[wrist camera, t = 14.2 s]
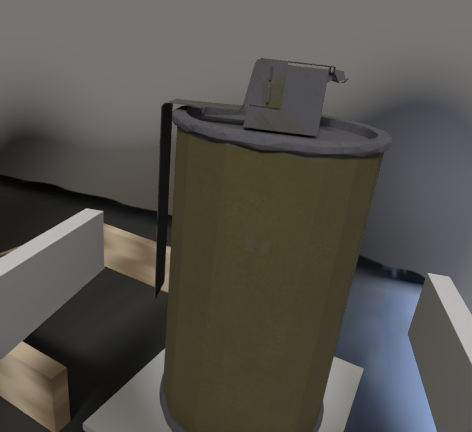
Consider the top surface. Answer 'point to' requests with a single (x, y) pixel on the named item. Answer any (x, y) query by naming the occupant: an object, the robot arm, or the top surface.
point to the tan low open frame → (50, 371)
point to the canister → (260, 250)
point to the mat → (155, 428)
